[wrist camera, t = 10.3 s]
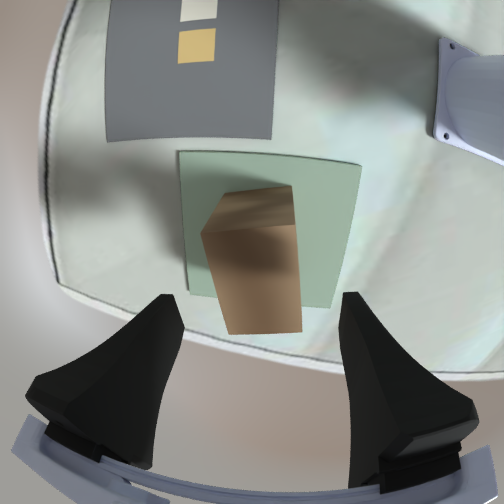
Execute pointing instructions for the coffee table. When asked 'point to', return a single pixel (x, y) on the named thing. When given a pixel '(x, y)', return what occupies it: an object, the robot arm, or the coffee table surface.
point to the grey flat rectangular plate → (190, 69)
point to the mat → (305, 206)
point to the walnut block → (255, 261)
